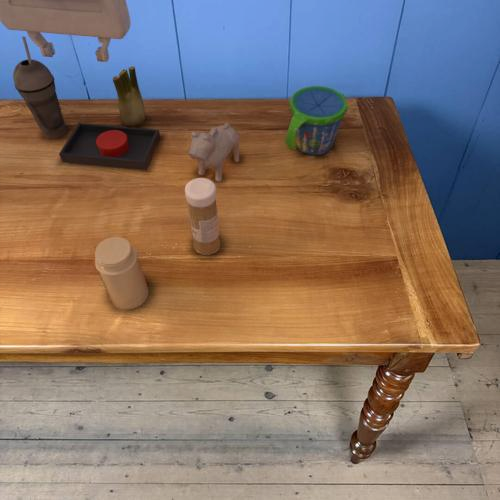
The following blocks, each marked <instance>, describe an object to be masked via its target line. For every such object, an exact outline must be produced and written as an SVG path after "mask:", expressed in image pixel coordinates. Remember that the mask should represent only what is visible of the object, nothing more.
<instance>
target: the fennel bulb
mask: <svg viewBox="0 0 500 500" xmlns="http://www.w3.org/2000/svg"><path fill="white" fill-rule="evenodd" d="M136 72H137V71H136V67H135V66H134V65H132V66H129V67H128V69H127V68H124V69H121V71H120V72H119V73H118V75H115V76H113V77H112V82H113V85H114V88H115V91H116V94H117V100H118V101H117V102H118V111H119V116H120V120H121V123H122V124H123V126H124V127H136V128H139V127H141V126H142V125H143V124H144V123H145V121H146V117H147V116H146V115H147V114H146V109H145V105H144V101H143V96H142V93H141V90H140V88H139V82H138V78H137V73H136Z"/></svg>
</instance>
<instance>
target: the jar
mask: <svg viewBox="0 0 500 500" xmlns="http://www.w3.org/2000/svg"><path fill="white" fill-rule="evenodd" d="M94 265H95V268H96V271H97V272H98V274H99V276H100V279H101V281H102V283H103V286H104V288H105V290H106V293H107V295H108V297H109V299H110V302H111V303H112V304H113V306H114V307H116V308H117V309H120V310H125V311H126V310H128V311H129V310H133V309H136V308H138V307H140V306H141V305H142V304H144V302H145V301H146V300H147V299H148V296H149V287H148V283H147V280H146V277H145V274H144V271H143V268H142V265H141V262H140V258H139V256H138V251H137V250H136V248H135V247H134V246H133V245H131V243H130V242H129V241H128V240H127V239H126V238H124V237H121V236H110V237H108V238H105V239H103V240H102V241H101V242H99V243H98V244H97V246H96V247H95V251H94Z"/></svg>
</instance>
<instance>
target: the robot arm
mask: <svg viewBox="0 0 500 500" xmlns="http://www.w3.org/2000/svg"><path fill="white" fill-rule="evenodd" d="M0 23H1V24H2V25H3V26H4V28H6V29H7V30H10V31H21V32H26V33H27V35H28V38H29V39H30V40H31V41H32V42H33V44H35V45H36V46H37V47H38V48H39V51H40V53H41V55H42V57H47V58H53V57H54V56H55V54H56V50H55V48H54V44H53V42H49V41H48V40H47V39H46V38H45V36H44V35H43V34H42V33H45V34H55V35H65V36H66V35H67V36H81V37H88V38H89V37H91V38H97V41H98V43H99V44H101V46H98V47H97V49H96V50H95V51H94V53H95V56H96V61H97V62H101V63H107V62H108V61H109V60H110V54H109V50H108V48H109V46H110V43H111V40H112V39H114V40H115V39H116V40H123V39H124V38H125V36H126V35H127V34H128V33H129V30H130V29H131V26H132V22H131V16H130V12H129V8H128V4H127V0H0Z"/></svg>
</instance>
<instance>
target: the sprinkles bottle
mask: <svg viewBox="0 0 500 500" xmlns="http://www.w3.org/2000/svg"><path fill="white" fill-rule="evenodd" d="M217 194H218V193H217V187H216V184H215V182H214V181H213V180H211V179H209V178H207V177H206V178H205V177H197V178H193V179H191V180H189V181H188V182H187V183H186V185H185V187H184V195H185V200H186V202H187V207H188V212H189V213H188V215H189V221H190V229H191V235H192V239H193V249H194V251H195V252H196V253H197V254H200V255H201V256H210V255H213V254H215V253H217V252H219V250H220V248H221V241H220V234H219V233H220V227H219V226H220V225H219V216H218V215H219V214H218V208H217V197H218V196H217Z"/></svg>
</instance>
